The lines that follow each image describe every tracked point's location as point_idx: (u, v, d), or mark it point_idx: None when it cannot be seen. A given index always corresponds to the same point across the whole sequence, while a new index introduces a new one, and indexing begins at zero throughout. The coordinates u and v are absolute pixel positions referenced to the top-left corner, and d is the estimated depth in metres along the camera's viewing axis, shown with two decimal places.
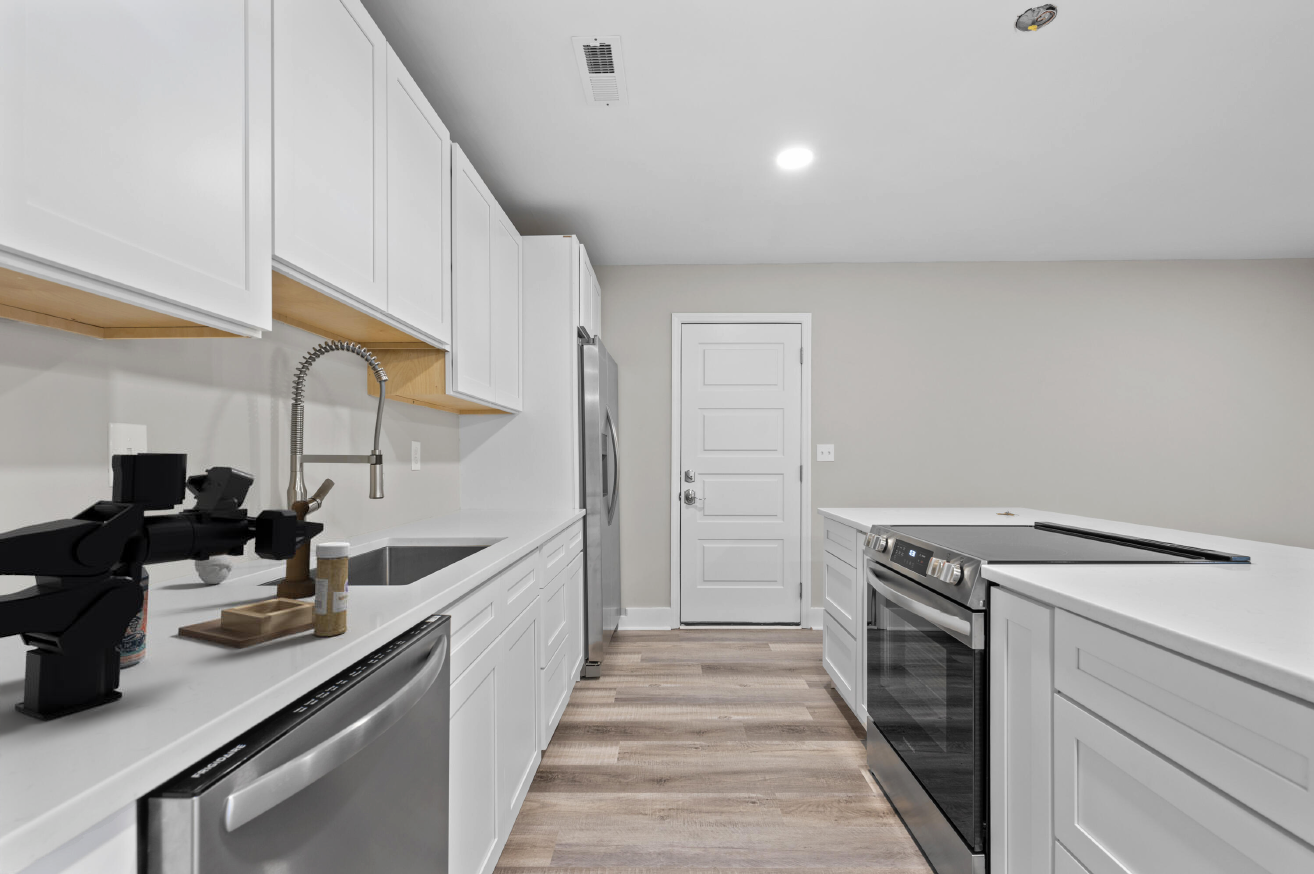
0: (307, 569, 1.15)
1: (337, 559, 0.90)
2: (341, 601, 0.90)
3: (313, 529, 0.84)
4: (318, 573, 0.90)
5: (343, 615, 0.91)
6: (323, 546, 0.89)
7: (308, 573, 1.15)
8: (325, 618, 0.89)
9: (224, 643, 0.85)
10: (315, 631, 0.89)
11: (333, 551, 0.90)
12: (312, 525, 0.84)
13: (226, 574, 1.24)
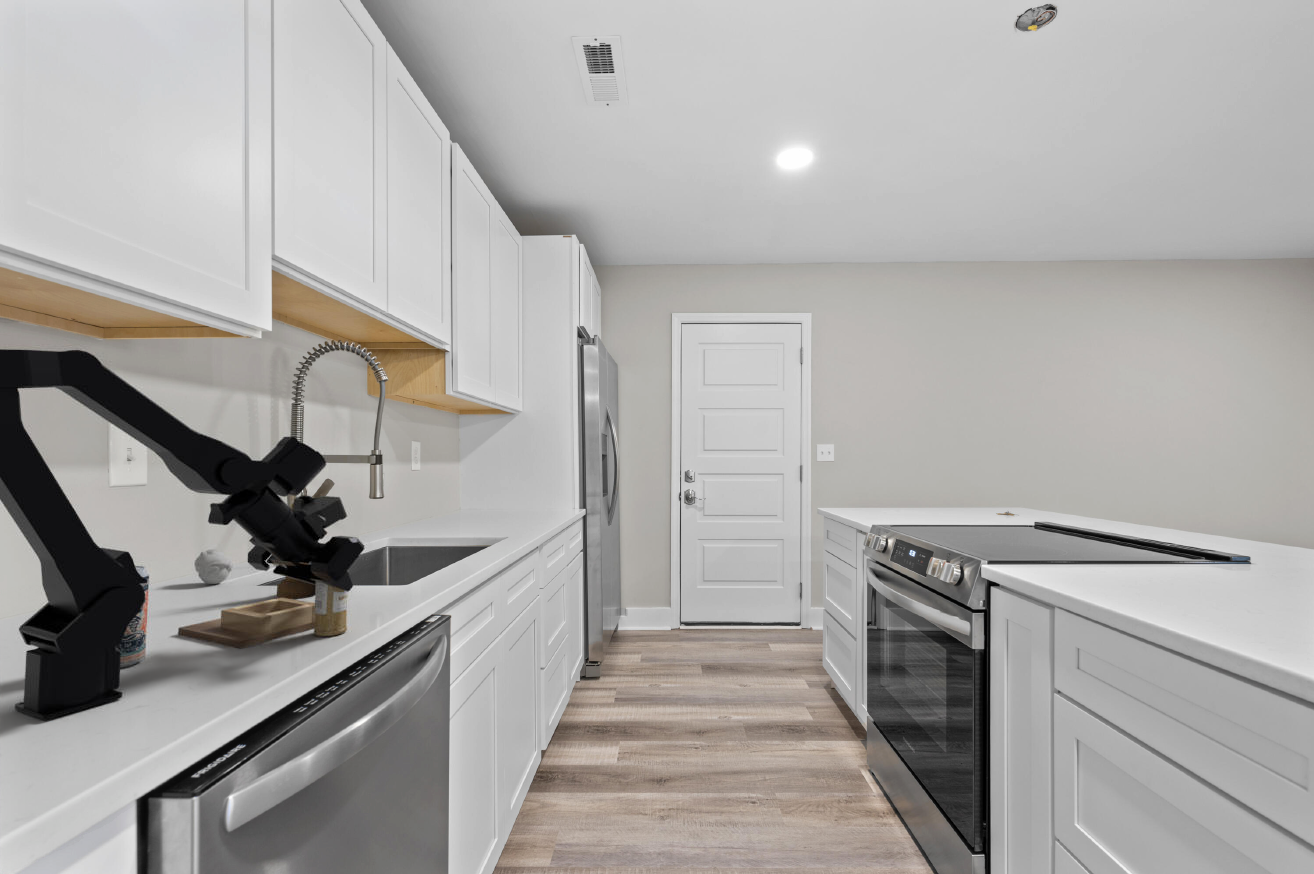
0: None
1: None
2: (341, 601, 0.90)
3: (345, 581, 0.90)
4: None
5: (343, 615, 0.91)
6: None
7: None
8: (325, 618, 0.89)
9: (224, 643, 0.85)
10: (315, 631, 0.89)
11: None
12: (347, 577, 0.90)
13: (226, 574, 1.24)
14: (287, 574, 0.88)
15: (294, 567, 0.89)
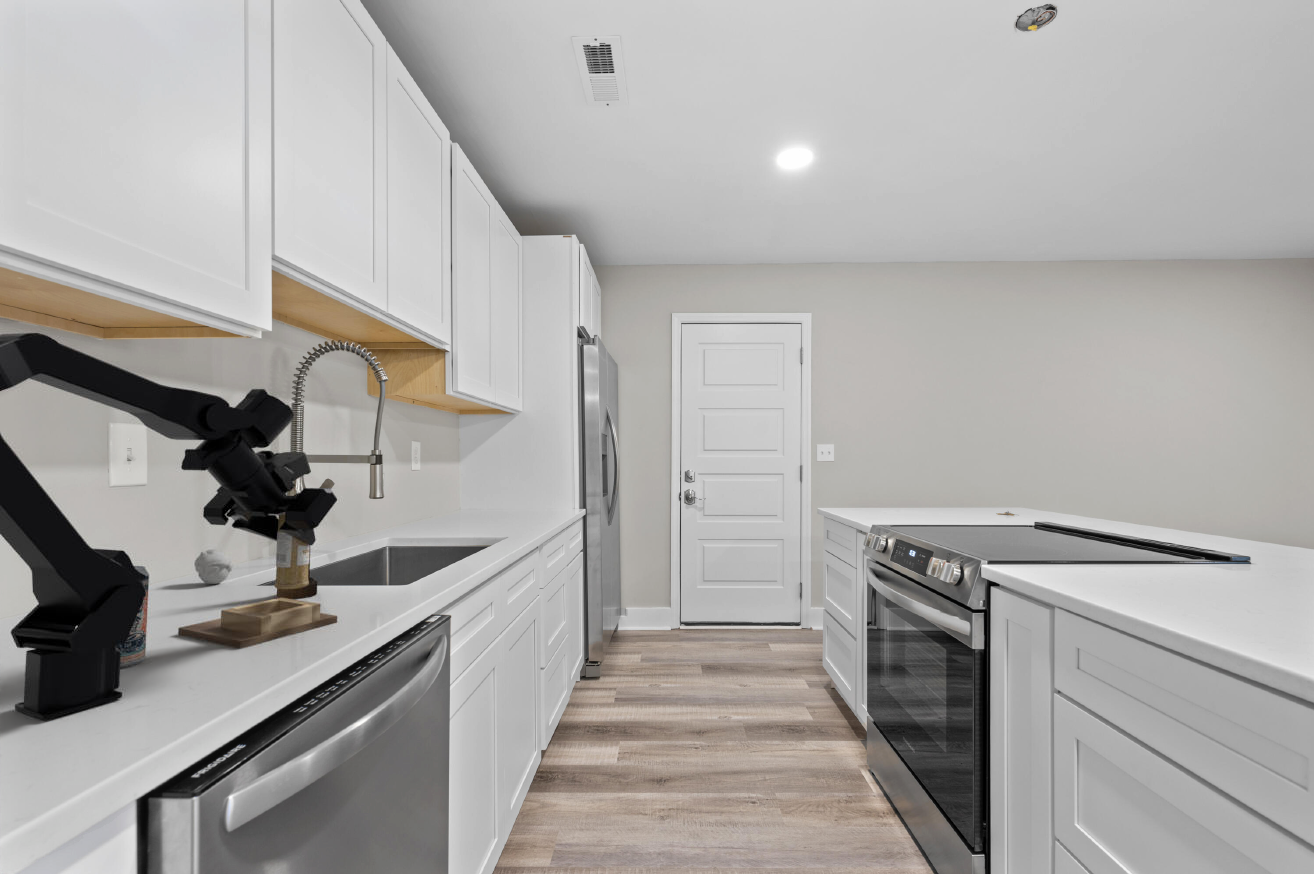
0: None
1: None
2: (305, 555, 0.92)
3: (310, 535, 0.92)
4: None
5: (306, 569, 0.92)
6: None
7: (308, 573, 1.15)
8: (289, 571, 0.90)
9: (224, 643, 0.85)
10: (277, 584, 0.90)
11: None
12: (311, 531, 0.92)
13: (226, 574, 1.24)
14: (249, 527, 0.88)
15: (255, 521, 0.89)
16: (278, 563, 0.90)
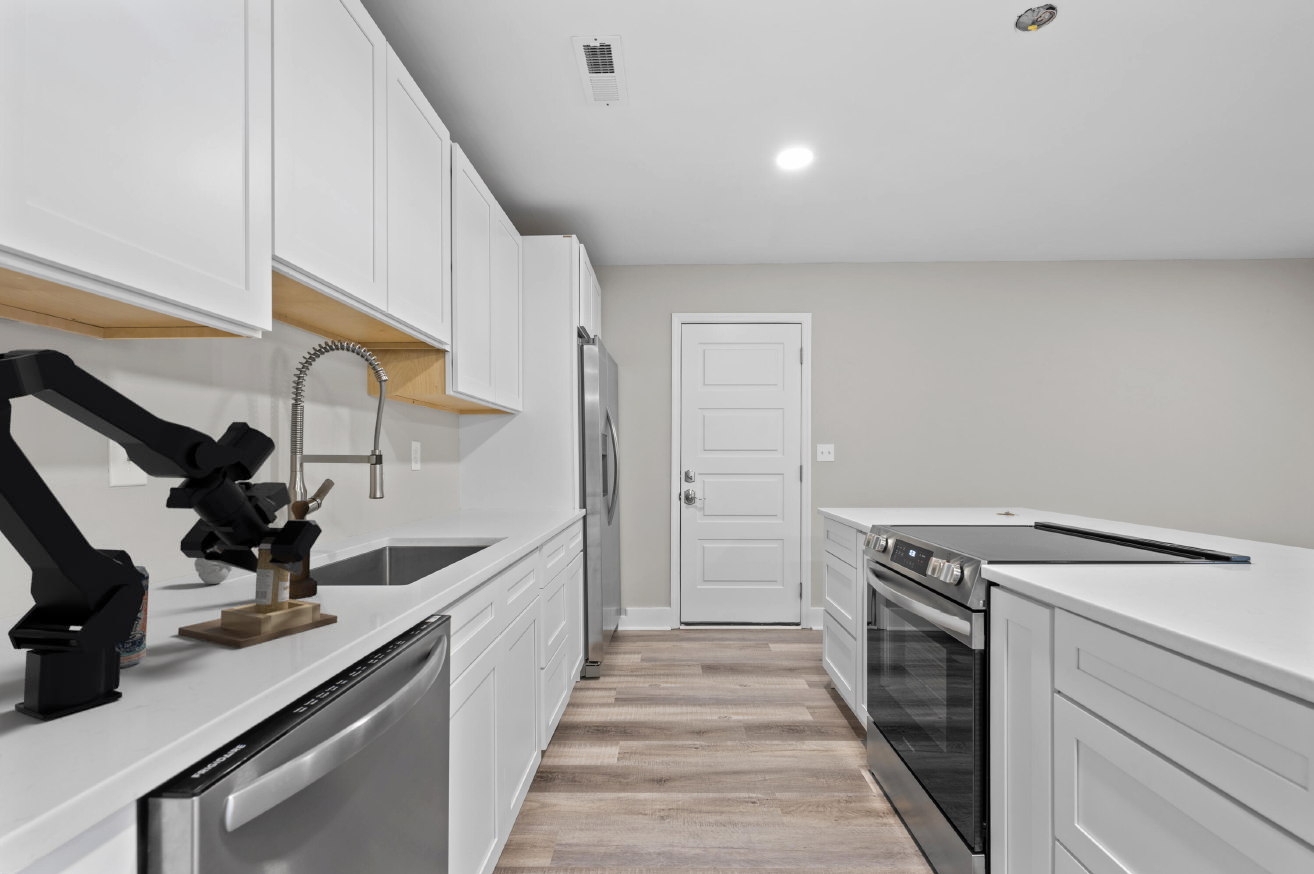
0: (307, 569, 1.15)
1: None
2: (286, 591, 0.92)
3: (297, 565, 0.92)
4: (262, 564, 0.90)
5: (286, 605, 0.92)
6: None
7: (308, 573, 1.15)
8: (270, 608, 0.90)
9: (224, 643, 0.85)
10: None
11: None
12: (299, 561, 0.92)
13: (226, 574, 1.24)
14: (223, 560, 0.88)
15: (229, 553, 0.89)
16: (258, 600, 0.90)
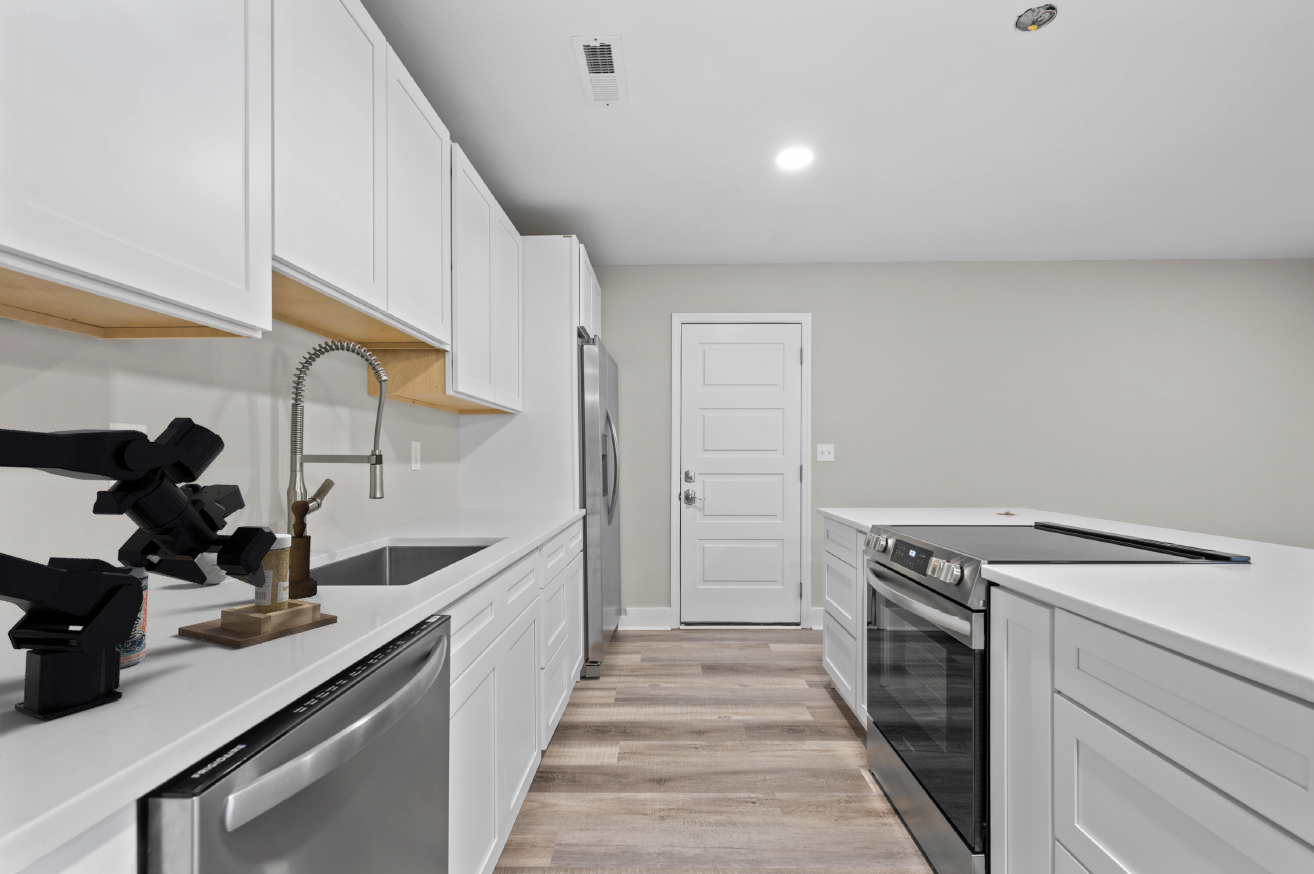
0: (307, 569, 1.15)
1: (281, 549, 0.91)
2: (285, 592, 0.92)
3: (259, 577, 0.83)
4: None
5: (286, 605, 0.92)
6: None
7: (308, 573, 1.15)
8: (270, 608, 0.90)
9: (224, 643, 0.85)
10: None
11: (278, 542, 0.91)
12: (261, 572, 0.83)
13: None
14: (158, 570, 0.79)
15: (165, 563, 0.80)
16: (257, 601, 0.90)
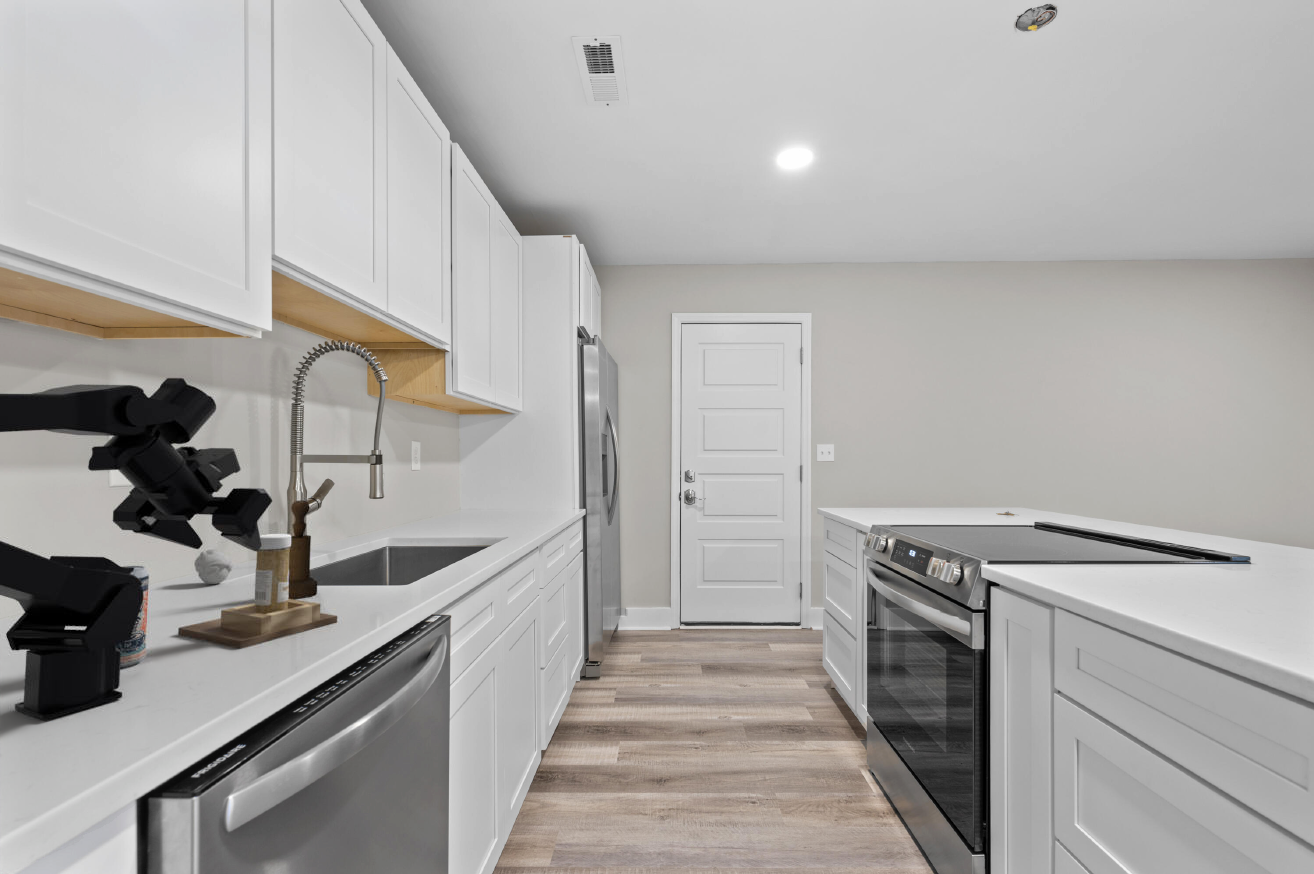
0: (307, 569, 1.15)
1: (281, 549, 0.91)
2: (285, 592, 0.92)
3: (255, 540, 0.83)
4: (260, 565, 0.90)
5: (286, 605, 0.92)
6: (267, 538, 0.90)
7: (308, 573, 1.15)
8: (270, 608, 0.90)
9: (224, 643, 0.85)
10: None
11: (278, 542, 0.91)
12: (257, 536, 0.83)
13: (226, 574, 1.24)
14: (153, 532, 0.79)
15: (160, 525, 0.80)
16: (257, 601, 0.90)
